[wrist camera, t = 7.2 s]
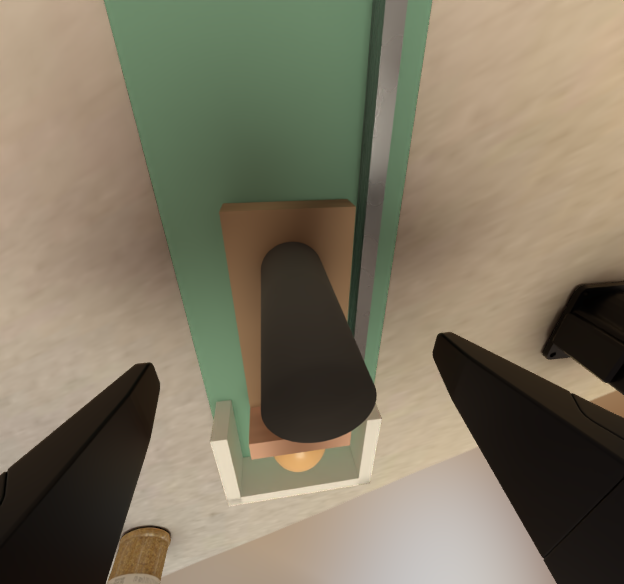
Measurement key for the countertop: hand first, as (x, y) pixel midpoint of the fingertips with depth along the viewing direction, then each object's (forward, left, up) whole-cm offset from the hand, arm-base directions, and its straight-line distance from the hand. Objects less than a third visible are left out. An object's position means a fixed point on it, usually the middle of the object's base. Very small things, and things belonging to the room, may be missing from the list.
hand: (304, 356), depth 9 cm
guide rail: (-4, -2, -8) cm, 9 cm away
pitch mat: (0, +3, -8) cm, 9 cm away
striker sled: (0, +4, -8) cm, 9 cm away
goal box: (0, +15, -8) cm, 17 cm away
